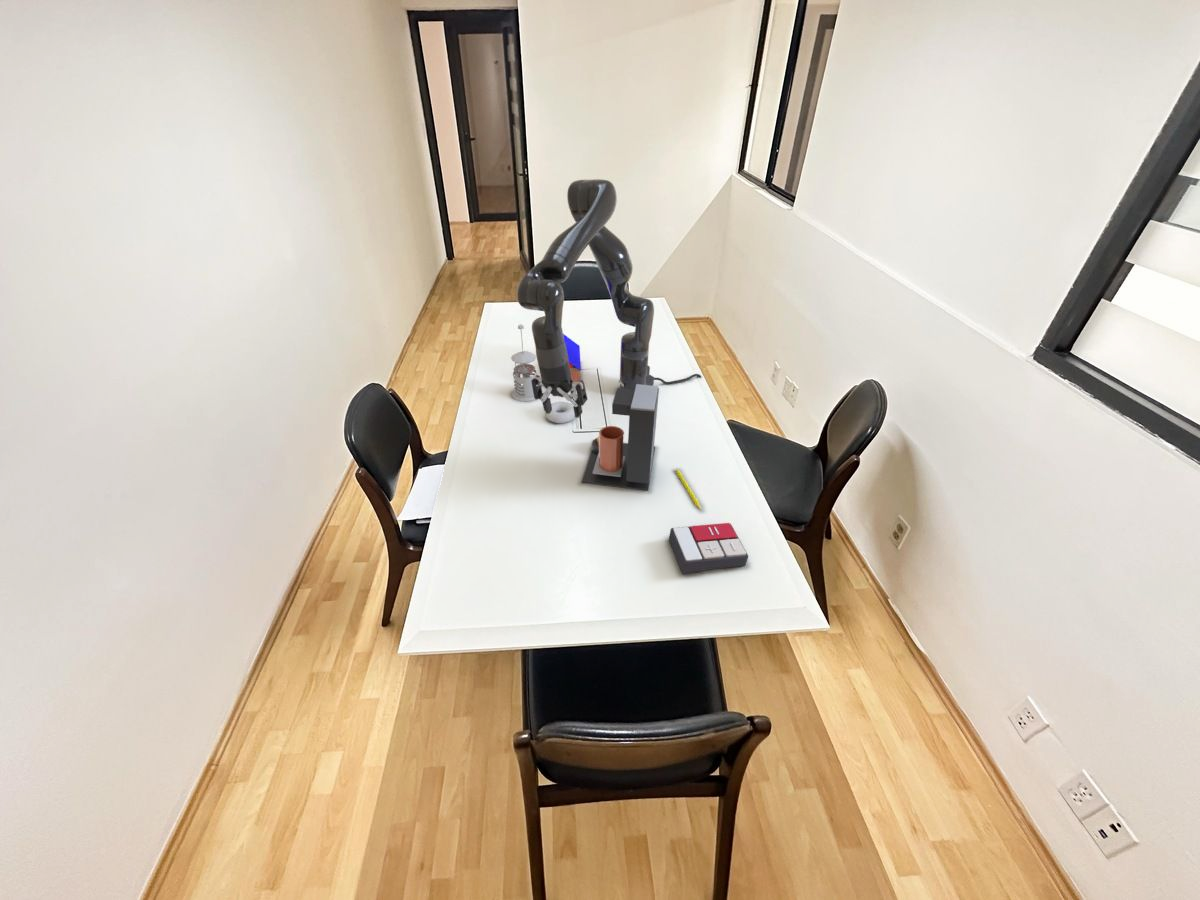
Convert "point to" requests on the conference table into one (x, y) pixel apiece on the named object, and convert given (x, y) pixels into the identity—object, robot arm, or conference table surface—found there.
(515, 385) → the french press
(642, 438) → the coffee maker
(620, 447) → the tumbler
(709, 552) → the calculator
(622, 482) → the coffee maker base
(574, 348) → the house
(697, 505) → the pencil
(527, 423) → the conference table surface
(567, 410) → the donut
